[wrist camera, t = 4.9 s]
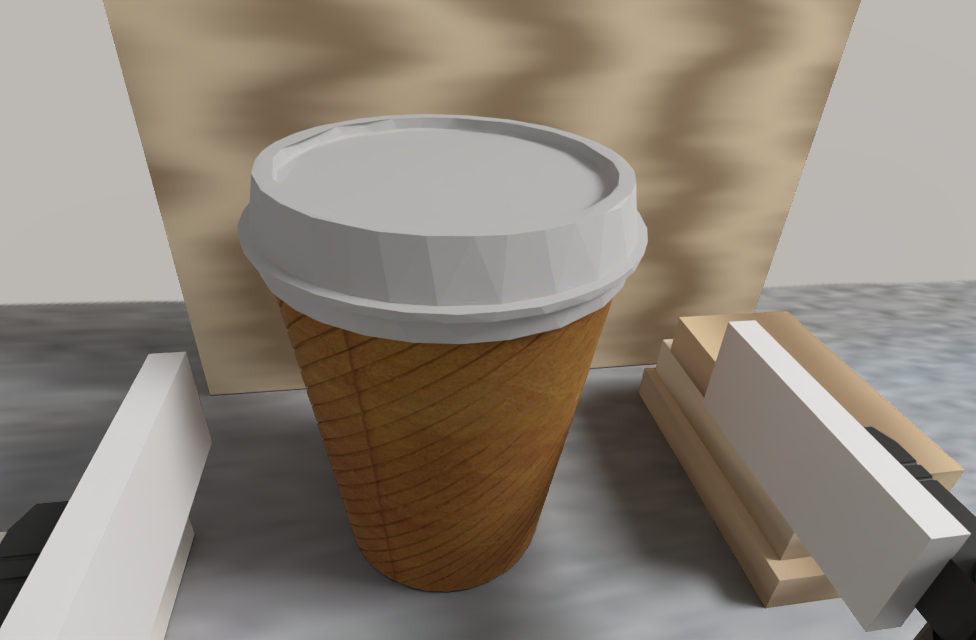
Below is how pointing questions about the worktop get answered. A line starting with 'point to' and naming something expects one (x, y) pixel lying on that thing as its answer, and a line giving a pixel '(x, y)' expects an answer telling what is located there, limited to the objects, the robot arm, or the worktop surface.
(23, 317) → the worktop surface
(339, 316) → the disposable coffee cup
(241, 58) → the pine panel
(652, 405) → the offcut stack
